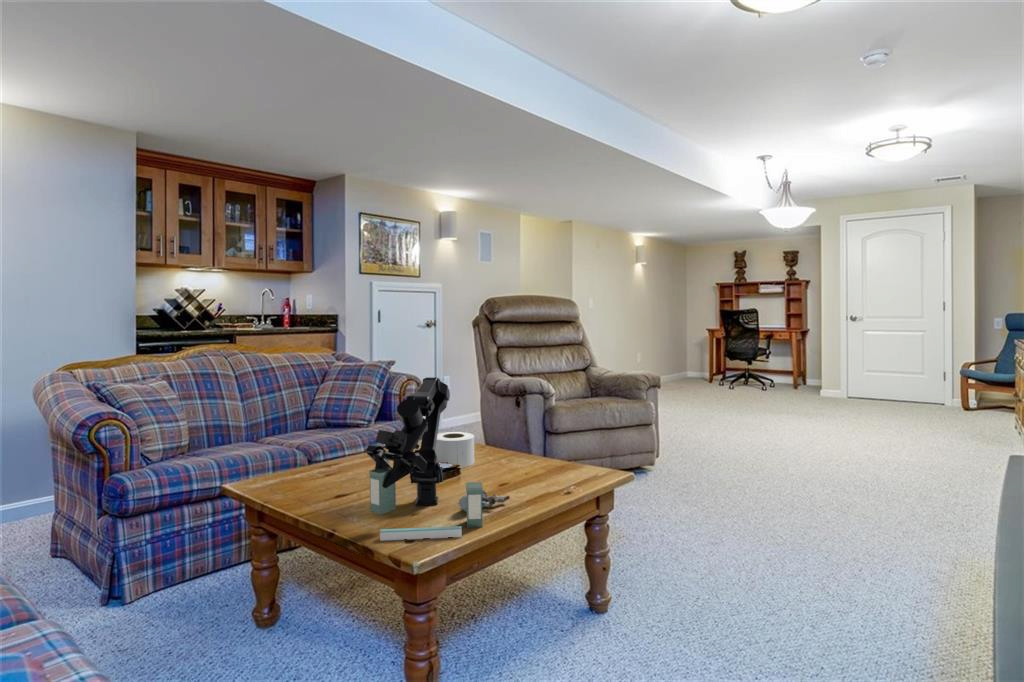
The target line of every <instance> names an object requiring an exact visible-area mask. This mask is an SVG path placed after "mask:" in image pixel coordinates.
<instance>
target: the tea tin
mask: <svg viewBox="0 0 1024 682" xmlns="http://www.w3.org/2000/svg"><path fill="white" fill-rule="evenodd" d="M392 468H393V467H392ZM392 468H389V467H382V468H378V469H375V468H374V469H372V470H371V469H370V470H369V471H368V473H369V498H370V501H369V502H370V503H369V505H370V506H369V508H370V511H369V512H371V513H375V514H377V515H384V514H386V513H389V512H392V511H394V510H396V509H397V506H396V505H397V496H396V495H397V494H396V493H397V489H396V488H397V487H396V482H395V483H394V484H392V485H391V486H389V487H388V488H384V487H383V485H384V482H385V480H386V478H387V477H388V475H389V473H390V471H391V469H392Z"/></svg>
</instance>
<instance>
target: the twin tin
mask: <svg viewBox="0 0 1024 682" xmlns="http://www.w3.org/2000/svg"><path fill="white" fill-rule="evenodd" d="M465 487H466V491H465V492H466V493H465V494H466V495H467V512H466V528H467V529H469V528H470V529H471V528H473V527H474V528H483V510H482V509H483V508H482V490H484V488H483V482H482V481H474V482H465Z"/></svg>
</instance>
